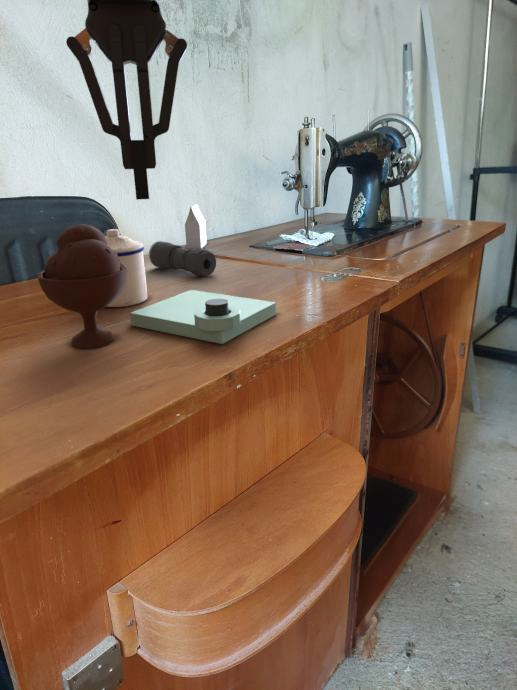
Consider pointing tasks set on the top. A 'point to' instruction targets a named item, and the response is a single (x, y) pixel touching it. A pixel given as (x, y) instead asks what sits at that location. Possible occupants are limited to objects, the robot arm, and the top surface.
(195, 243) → the white pointed block
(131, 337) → the top surface
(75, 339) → the ice cream bowl
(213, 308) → the tare button
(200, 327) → the scale
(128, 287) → the teacup with lid
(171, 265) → the flashlight
